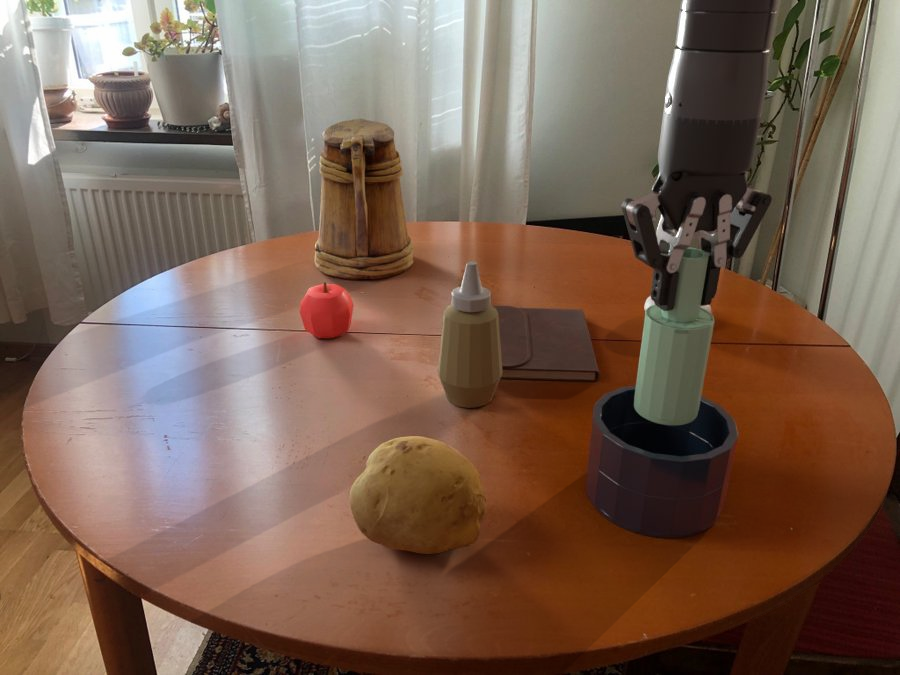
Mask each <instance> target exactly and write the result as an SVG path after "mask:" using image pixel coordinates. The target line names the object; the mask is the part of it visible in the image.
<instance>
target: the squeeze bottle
mask: <svg viewBox="0 0 900 675" xmlns="http://www.w3.org/2000/svg"><path fill="white" fill-rule="evenodd" d="M493 306H494V305H492V292H491V290H490V289H488V288H487V287H484V286H483V285H482V281H481V277H480V273H479V268H478V263H477V262H476V261H467V262H466V264H465V267H464V272H463V277H462V281H461V286H457V287H456V288H454V289H453V290H451V304H450V305H448V306H447V307H446V308H445V309H444V310H443V317H442V325H441V326H442V327H441V336H440V337H441V338H440V345H439V355H438V363H437V364H438V365H437V374H438V378H439V380H440V383H441V386H442V388H443V391H444V394H445V396H446V398H447V400H448V402H450V403H451V404H453V405H455V406H457V407H460V408H468V409H471V408H479V407H483V406H486V405H488V404H489V403H490V402H492V400H493V398H494V396H495V393H496V391H497V388H498V386H499V384H500V380H501V379H500V378H501V376H502V373H503V370H502V357H501V344H500V331H499V318H498V312H497V310H496V309H495V308H494V307H493Z"/></svg>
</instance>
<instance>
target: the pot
mask: <svg viewBox="0 0 900 675" xmlns="http://www.w3.org/2000/svg"><path fill="white" fill-rule="evenodd" d="M635 389H636V385H628V386H626V385H625V386H623V387H620V388H616V389H614V390H612V391H611V390H610V391H609V392H606V393H604V394H603V395H602V396H601V397H600V398H599V399H598V400H597V401H596V402H595V403H594V404H593V410H592V420H591V429H590V440H589V449H588V458H587V459H588V460H587V468H586V480H585V491H586V495H587V497H588V500H589V501H590V503H591V505H592V506H593V507H594V509H596V511H597V512H598V513H599V514H600V515H601V516H603V517H604V518H605V519H607V520H608V521H609V522H611V523H612V524H614V525H616V526H618V527H620V528H622V529H624V530H627V531H630V532H632V533H635V534H639V535H642V536H645V537H652V538H660V539H679V538H687V537H692V536H695V535H698V534H701V533H703V532H705V531H707V530H708V529H710V528H711V527H712V526H714V525H715V524H716V523H717V522H718V520H719V519H720V516H721V514H722V511H723V509H724V506H725V502H726V497H727V492H728V487H729V483H730V477H731V473H732V469H733V463H734V459H735V455H736V449H737V446H738V445H737V444H738V439H739V432H738V428H737V423H736V420H735V419H734V418H733V417H732V415H731V414H729V413H728V412H727V411H726V410H725V409H724V408H723V407H722V406H721V405H719V404H718V403H716V402H714V401H712V400H710V399H708V398H707V397H705V396H703V395H701V401H700V406H699V411H698V414H697V417H696V418H695V419H694V420H693V421H692V422H690V423H687V424H684V425H663V424H658V423H655V422H652V421H649V420H647V419H645V418H643V417H642V416H641V415H639V414H638V413H637V412H636V410H635V408H634V396H635Z"/></svg>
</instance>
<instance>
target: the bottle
mask: <svg viewBox="0 0 900 675" xmlns="http://www.w3.org/2000/svg"><path fill="white" fill-rule="evenodd" d="M708 257H709V256H708V253H707V252H705V251H703V250H701V249H698V247H691V246H689V247H688V248H686V249H685V250H684V253H683V256H682V259H681V262H680V266H679V268H678V270H677V272H679V278H678V285H677V291H676V298H675V305H674V309H673V310H669V311H663V310H662V309H661V308H659V307H658V306H656V305H655V304H654V305H651V306H650V307H649V308H648V309H646V312H645V313H644V320H643V328H642V336H641V344H640V352H639V358H638V359H639V360H638V367H637V374H636V381H635V386H636V389H635V396H634V408H635V410H636V412H637V413H638V414H639V415H641V416H642V417H643V418H645V419H647V420H649V421H652V422H655V423H658V424H663V425H684V424H687V423H690V422H692V421H693V420H694V419H695V418H696V417H697V414H698V411H699V406H700V401H701V396H703V388H704V382H705V376H706V373H707V372H706V371H707V367H708V360H709V355H710V350H711V343H712V339H713V338H712V337H713V332H714V327H715V318H714V315H713V314H712V312H711V313H709V312H708V311H707V310H705V309H702V308H700V305H701V299H702V293H703V287H704V281H705V275H706V269H707V263H708Z"/></svg>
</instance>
